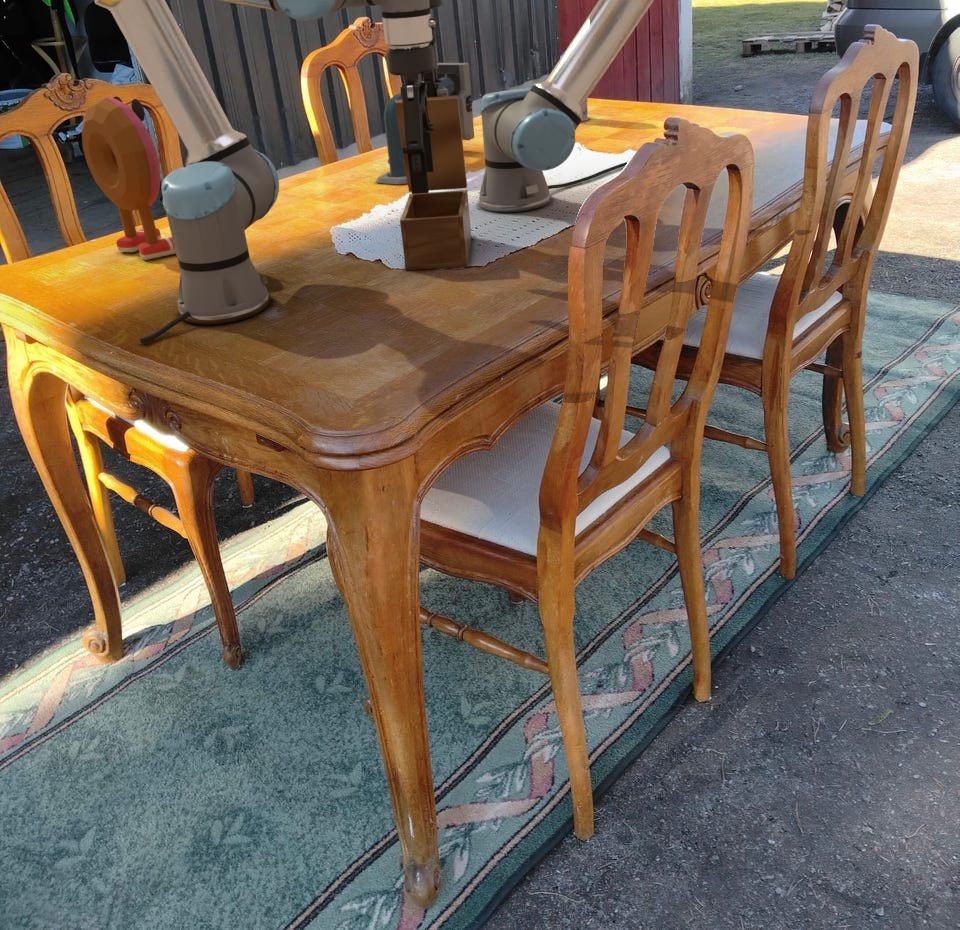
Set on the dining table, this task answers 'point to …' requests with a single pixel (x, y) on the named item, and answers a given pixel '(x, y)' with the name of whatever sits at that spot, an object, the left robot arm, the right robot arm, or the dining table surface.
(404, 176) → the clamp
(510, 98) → the right robot arm
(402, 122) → the lid
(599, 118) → the dining table surface
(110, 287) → the dining table surface
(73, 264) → the dining table surface
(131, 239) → the toy
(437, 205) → the chest
